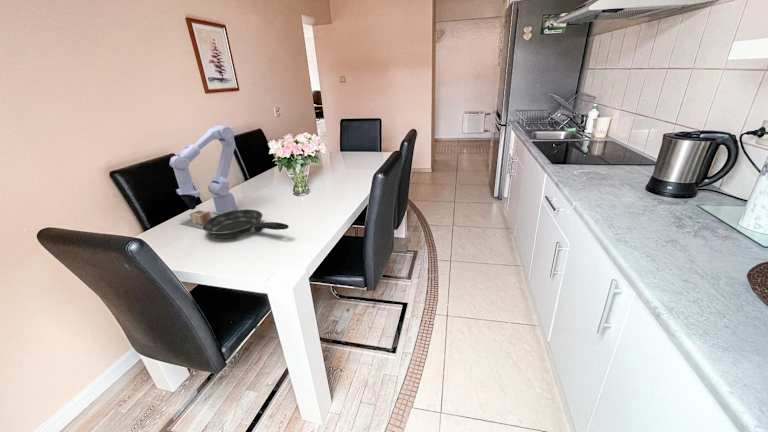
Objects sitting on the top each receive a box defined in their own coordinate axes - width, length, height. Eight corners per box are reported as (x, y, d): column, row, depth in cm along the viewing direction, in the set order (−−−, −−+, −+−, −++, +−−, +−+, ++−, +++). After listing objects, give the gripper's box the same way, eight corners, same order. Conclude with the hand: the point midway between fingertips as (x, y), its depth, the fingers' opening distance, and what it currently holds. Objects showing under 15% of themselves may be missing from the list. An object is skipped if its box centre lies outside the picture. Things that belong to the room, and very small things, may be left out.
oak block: (199, 210, 154) (209, 211, 150) (201, 218, 155) (212, 220, 152) (189, 214, 150) (200, 215, 146) (192, 222, 151) (203, 224, 148)
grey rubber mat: (200, 215, 160) (200, 214, 160) (225, 220, 153) (225, 220, 153) (180, 224, 151) (180, 223, 151) (205, 230, 144) (204, 229, 144)
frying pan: (192, 237, 138) (187, 223, 136) (238, 215, 159) (235, 203, 156) (267, 255, 121) (263, 240, 118) (307, 229, 142) (305, 215, 139)
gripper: (166, 182, 146) (175, 209, 151) (186, 186, 140) (195, 213, 145) (181, 178, 151) (189, 204, 157) (201, 181, 145) (208, 208, 151)
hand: (193, 208), depth 151 cm, fingers closed
